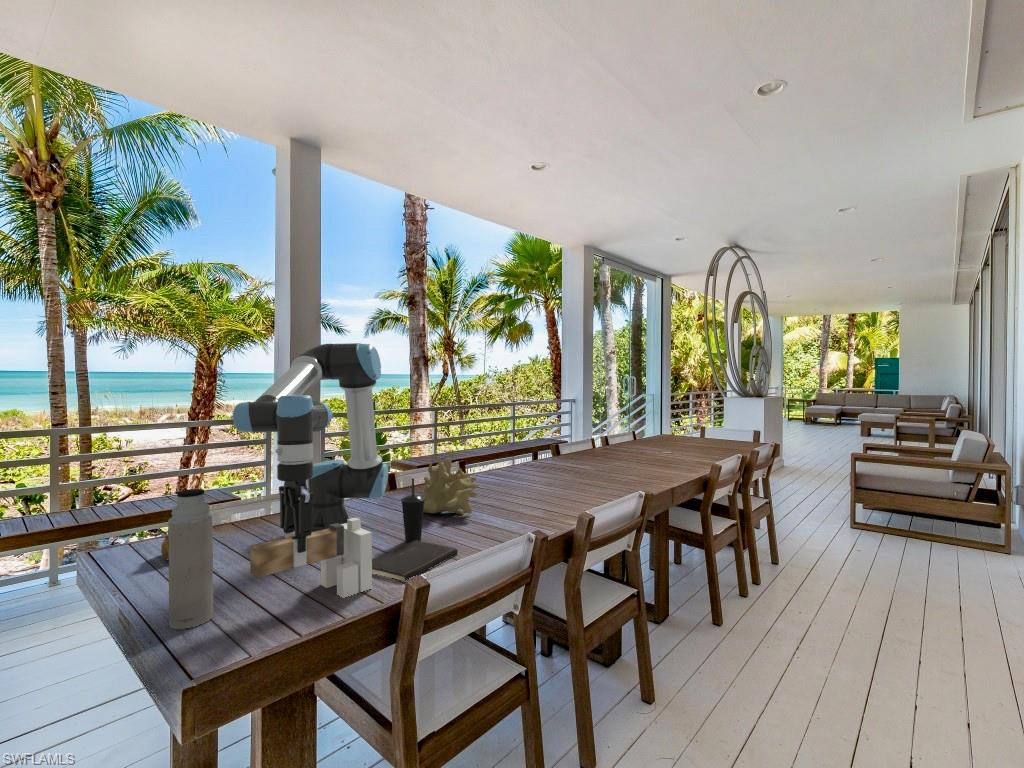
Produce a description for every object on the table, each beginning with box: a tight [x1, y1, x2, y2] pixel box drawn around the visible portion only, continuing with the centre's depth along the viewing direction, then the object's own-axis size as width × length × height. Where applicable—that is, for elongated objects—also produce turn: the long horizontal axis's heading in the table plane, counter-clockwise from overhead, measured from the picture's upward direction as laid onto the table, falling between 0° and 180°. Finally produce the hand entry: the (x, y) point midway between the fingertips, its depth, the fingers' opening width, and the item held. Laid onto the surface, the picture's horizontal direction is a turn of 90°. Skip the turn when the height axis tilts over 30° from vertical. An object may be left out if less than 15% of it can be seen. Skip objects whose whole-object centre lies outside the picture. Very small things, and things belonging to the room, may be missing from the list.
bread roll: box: [160, 536, 169, 561], centre depth 145 cm, size 13×10×8 cm
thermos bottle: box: [167, 488, 214, 630], centre depth 106 cm, size 8×8×28 cm
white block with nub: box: [320, 517, 373, 599], centre depth 123 cm, size 12×8×16 cm, turn 46°
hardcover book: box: [372, 540, 458, 581], centre depth 140 cm, size 16×23×2 cm
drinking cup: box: [400, 478, 425, 544], centre depth 158 cm, size 8×8×20 cm
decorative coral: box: [421, 457, 479, 516], centre depth 191 cm, size 26×22×25 cm
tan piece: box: [249, 523, 344, 578], centre depth 115 cm, size 20×4×7 cm, turn 136°
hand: (295, 562), depth 114 cm, fingers closed on tan piece, 4 cm apart
